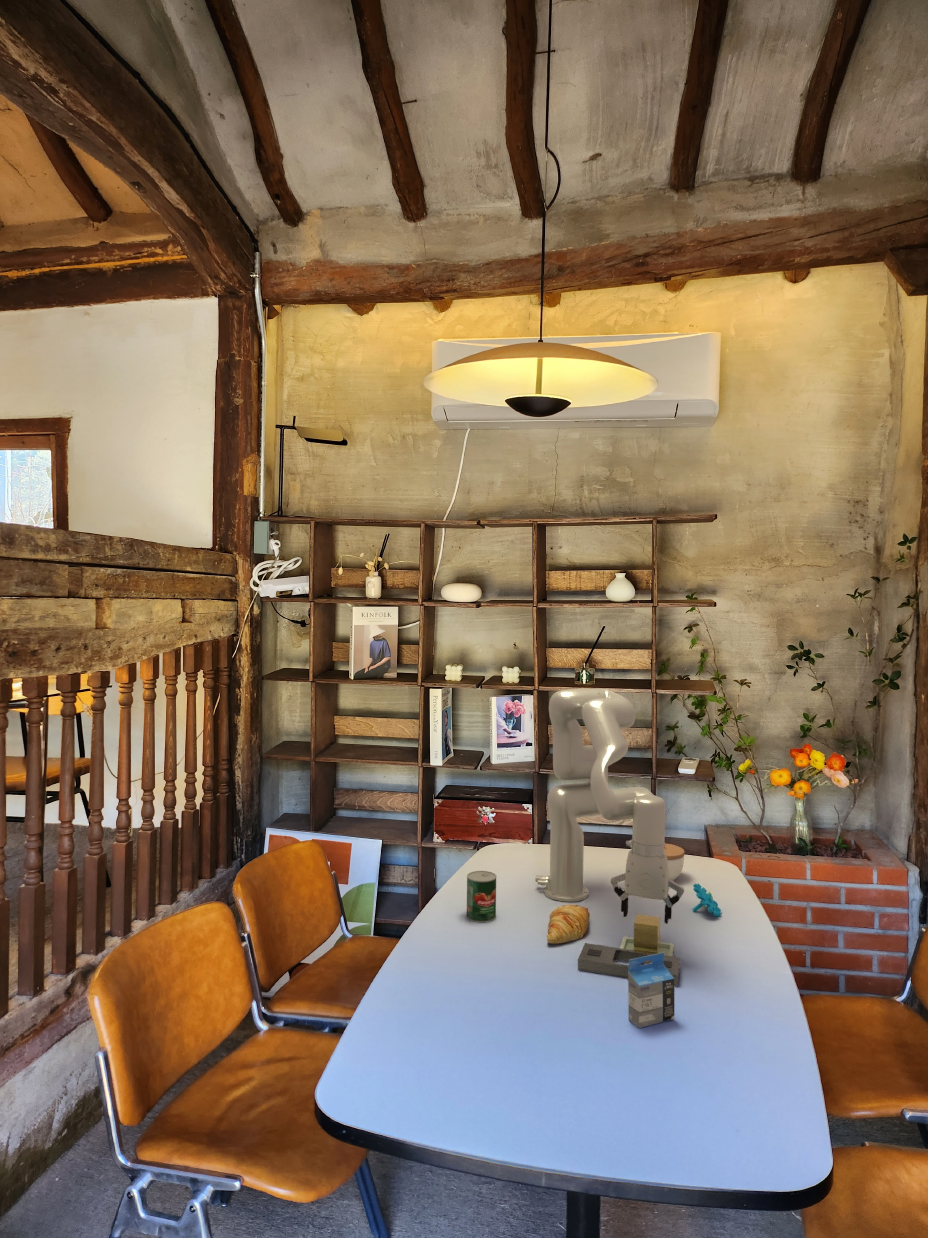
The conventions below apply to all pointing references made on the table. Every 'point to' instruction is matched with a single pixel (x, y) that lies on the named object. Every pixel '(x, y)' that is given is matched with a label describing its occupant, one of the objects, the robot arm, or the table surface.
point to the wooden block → (647, 934)
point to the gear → (706, 900)
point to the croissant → (567, 923)
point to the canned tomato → (481, 896)
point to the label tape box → (650, 991)
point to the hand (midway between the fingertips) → (645, 918)
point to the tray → (664, 948)
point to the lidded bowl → (674, 860)
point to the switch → (605, 957)
